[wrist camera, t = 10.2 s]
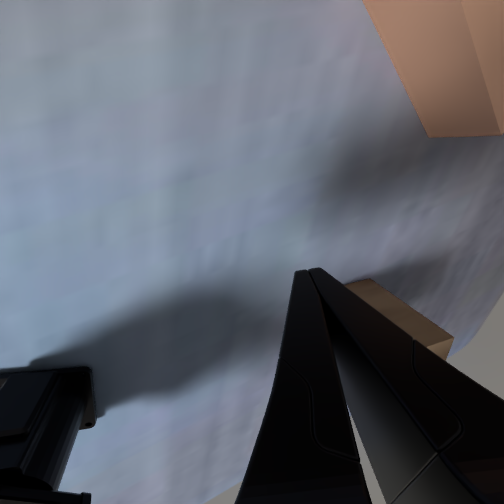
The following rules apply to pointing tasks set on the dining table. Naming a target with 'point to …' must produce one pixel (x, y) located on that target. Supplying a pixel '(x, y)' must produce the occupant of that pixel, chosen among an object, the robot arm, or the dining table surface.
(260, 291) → the dining table surface
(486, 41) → the terracotta block
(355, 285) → the walnut block
